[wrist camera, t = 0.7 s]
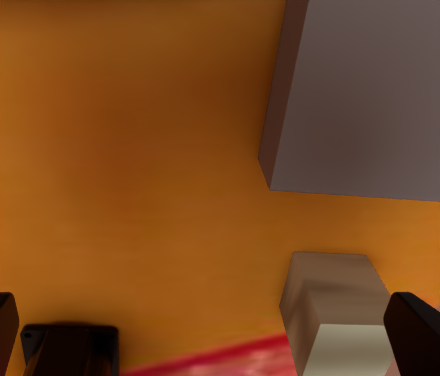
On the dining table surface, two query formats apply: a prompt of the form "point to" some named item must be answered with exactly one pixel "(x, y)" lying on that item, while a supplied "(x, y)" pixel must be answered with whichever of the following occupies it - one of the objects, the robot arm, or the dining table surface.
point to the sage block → (336, 315)
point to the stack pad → (356, 100)
